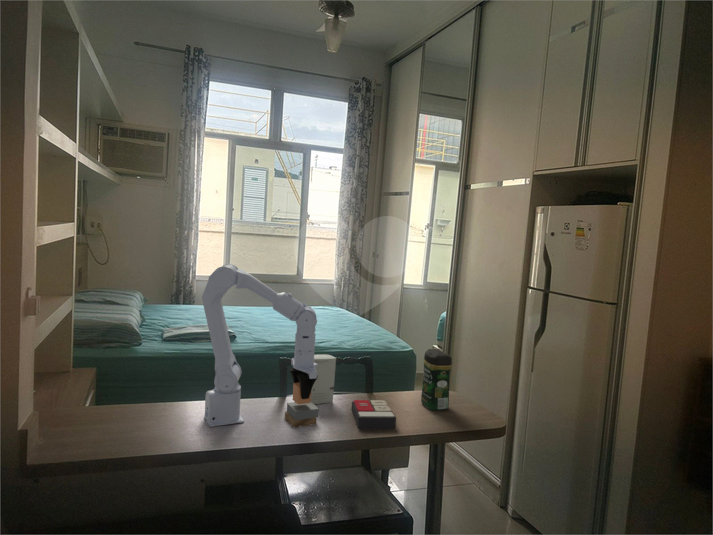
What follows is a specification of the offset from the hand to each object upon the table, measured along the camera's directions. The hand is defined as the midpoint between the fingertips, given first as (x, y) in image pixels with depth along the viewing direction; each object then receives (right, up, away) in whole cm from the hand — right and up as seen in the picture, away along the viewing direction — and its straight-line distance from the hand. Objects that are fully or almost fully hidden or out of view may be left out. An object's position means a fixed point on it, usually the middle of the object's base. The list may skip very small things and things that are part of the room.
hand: (302, 395), depth 137 cm
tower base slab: (-1, -8, 0) cm, 8 cm away
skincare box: (+3, -7, +17) cm, 19 cm away
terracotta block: (0, -2, 0) cm, 2 cm away
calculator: (+20, -9, +5) cm, 23 cm away
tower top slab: (0, -5, 0) cm, 6 cm away
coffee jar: (+41, -9, +19) cm, 46 cm away
